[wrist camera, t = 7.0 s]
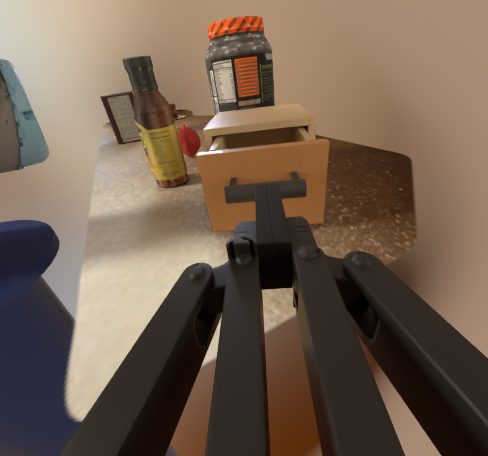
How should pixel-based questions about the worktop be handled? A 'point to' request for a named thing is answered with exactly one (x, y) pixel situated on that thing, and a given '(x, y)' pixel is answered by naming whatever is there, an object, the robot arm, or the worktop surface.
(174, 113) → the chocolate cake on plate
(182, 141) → the onion
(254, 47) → the supplement tub
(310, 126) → the cabinet
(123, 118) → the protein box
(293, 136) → the drawer
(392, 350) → the robot arm
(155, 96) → the sauce bottle
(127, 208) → the worktop surface
